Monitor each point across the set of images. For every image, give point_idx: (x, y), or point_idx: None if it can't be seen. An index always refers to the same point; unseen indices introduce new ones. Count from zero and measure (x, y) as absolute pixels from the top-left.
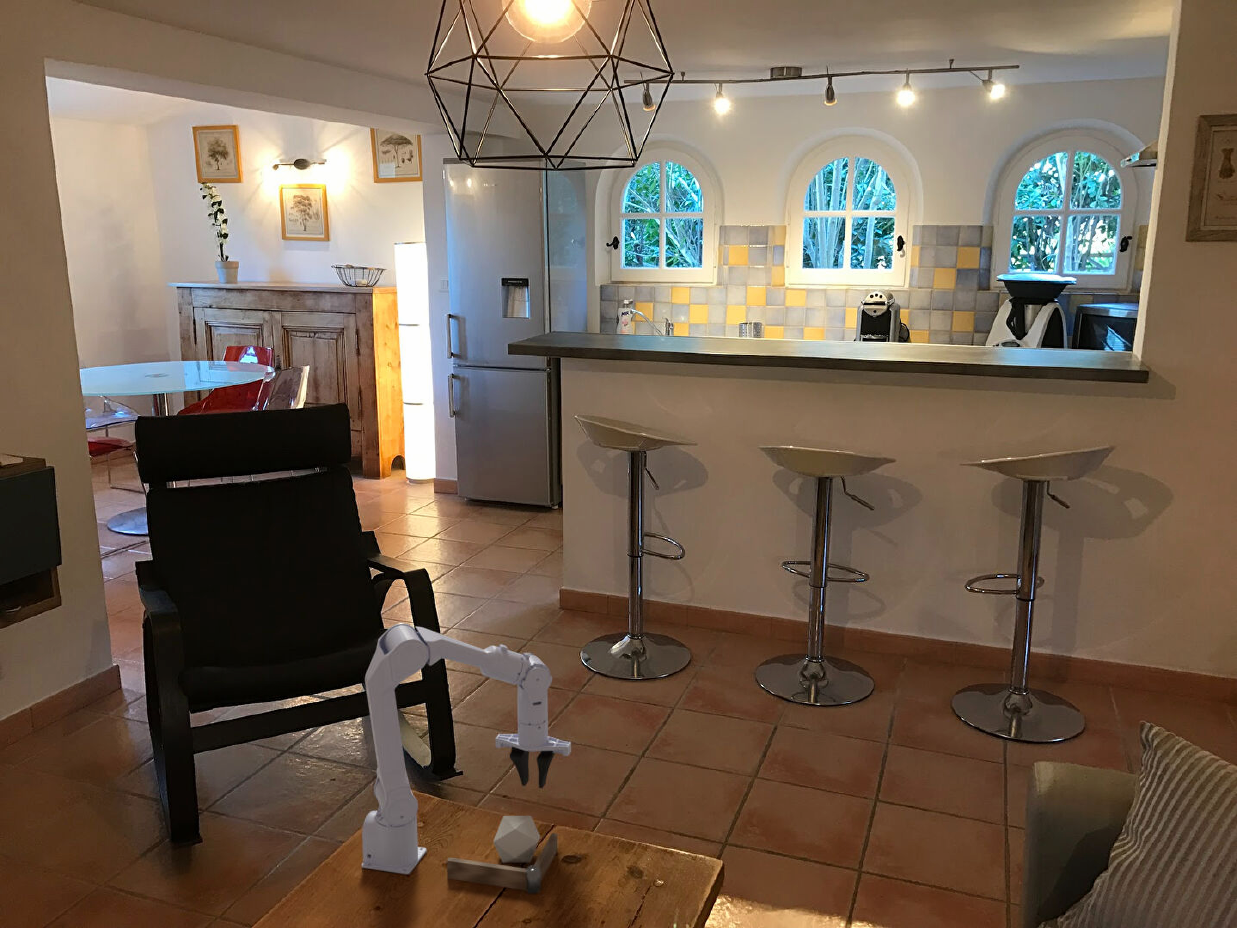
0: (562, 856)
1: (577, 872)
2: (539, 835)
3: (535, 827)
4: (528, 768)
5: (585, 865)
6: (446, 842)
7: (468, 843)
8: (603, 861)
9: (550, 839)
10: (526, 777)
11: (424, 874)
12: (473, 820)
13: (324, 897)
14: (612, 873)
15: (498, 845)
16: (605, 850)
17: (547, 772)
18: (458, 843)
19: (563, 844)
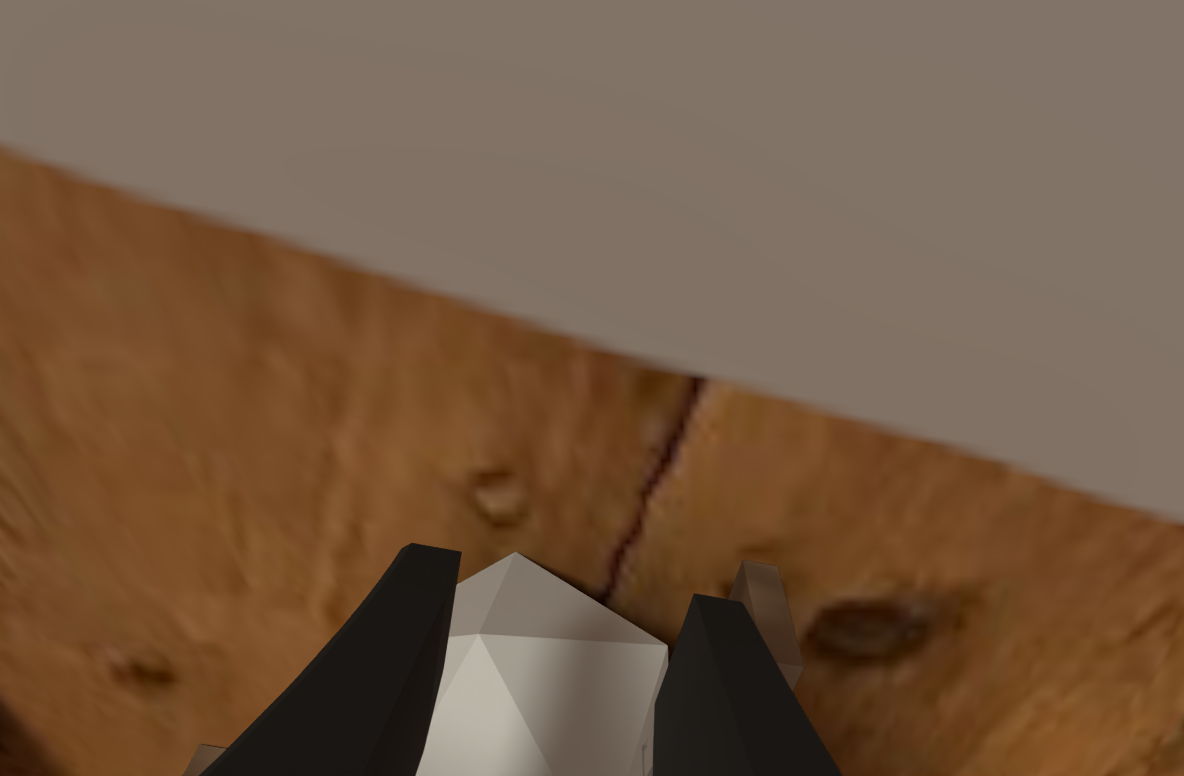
0: (809, 614)
1: (888, 729)
2: (665, 664)
3: (640, 764)
4: (401, 685)
5: (945, 682)
6: (11, 496)
7: (162, 504)
8: (1066, 652)
9: None
10: (425, 702)
11: (70, 739)
12: (42, 215)
13: None
14: (1090, 736)
15: None
16: (1112, 559)
17: (823, 753)
18: (96, 505)
19: (823, 504)
